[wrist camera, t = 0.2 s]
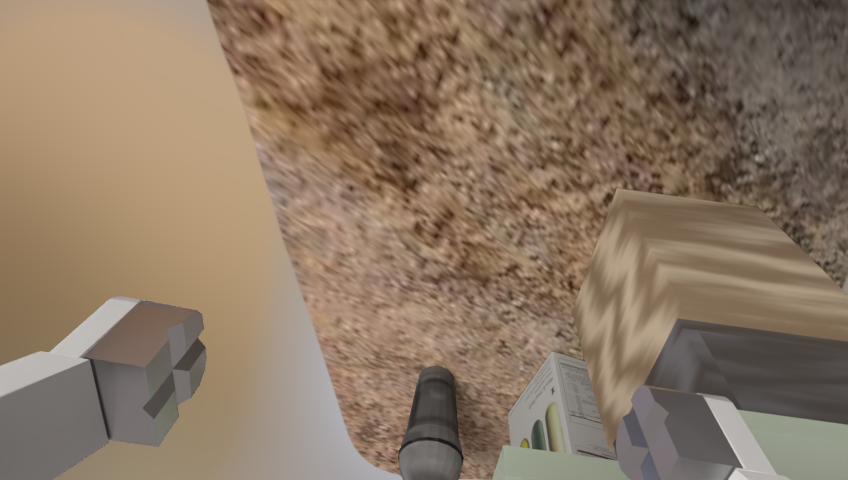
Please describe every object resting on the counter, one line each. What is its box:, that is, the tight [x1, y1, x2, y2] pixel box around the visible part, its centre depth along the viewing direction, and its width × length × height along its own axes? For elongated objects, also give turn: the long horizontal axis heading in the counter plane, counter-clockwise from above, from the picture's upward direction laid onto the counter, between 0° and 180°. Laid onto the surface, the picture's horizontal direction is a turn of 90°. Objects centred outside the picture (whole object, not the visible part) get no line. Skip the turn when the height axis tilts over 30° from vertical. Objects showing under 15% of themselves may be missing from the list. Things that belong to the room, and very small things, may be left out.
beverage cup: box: [398, 366, 464, 480], centre depth 57 cm, size 7×7×20 cm
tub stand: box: [572, 188, 848, 460], centre depth 42 cm, size 16×14×26 cm
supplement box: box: [508, 352, 618, 461], centre depth 58 cm, size 13×13×18 cm
